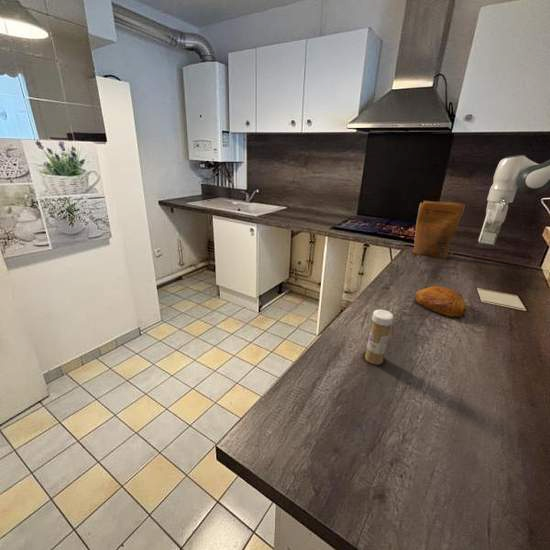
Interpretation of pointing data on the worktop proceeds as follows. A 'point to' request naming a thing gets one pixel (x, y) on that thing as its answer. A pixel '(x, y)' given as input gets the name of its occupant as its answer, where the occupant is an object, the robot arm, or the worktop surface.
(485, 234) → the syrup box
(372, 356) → the sprinkles bottle
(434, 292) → the bread loaf
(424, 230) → the pancake mix bag
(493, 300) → the napkin
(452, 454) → the worktop surface
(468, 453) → the worktop surface
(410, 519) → the worktop surface
